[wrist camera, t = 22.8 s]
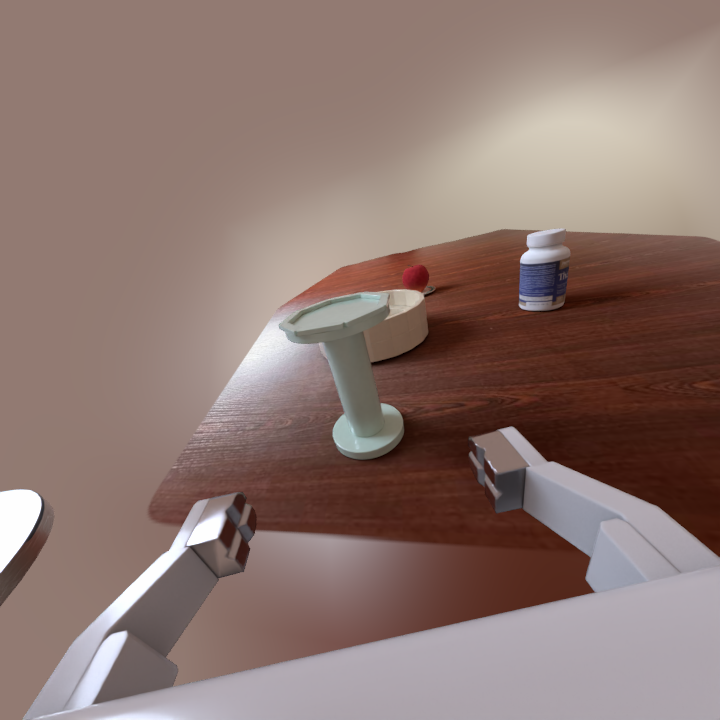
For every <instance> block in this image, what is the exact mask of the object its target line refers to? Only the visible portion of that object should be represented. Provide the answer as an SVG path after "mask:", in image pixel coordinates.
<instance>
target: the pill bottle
mask: <svg viewBox="0 0 720 720" xmlns="http://www.w3.org/2000/svg"><path fill="white" fill-rule="evenodd" d="M565 233H566V229H553V230H546V231H540V232H536V233H532V234H529V235H528V236H527V247H529V251H527V252H525V253H524V254H523V255H522V257H521V261H520V288H519V306H520V308H522V309H524V310H528V311H548V310H554V309H557V308H559V307H561V306H563V304H564V301H565V295H566V286H567V278H568V269H569V260H570V250H569V248H567V247H565V246H562V242H564V241H565Z"/></svg>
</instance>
